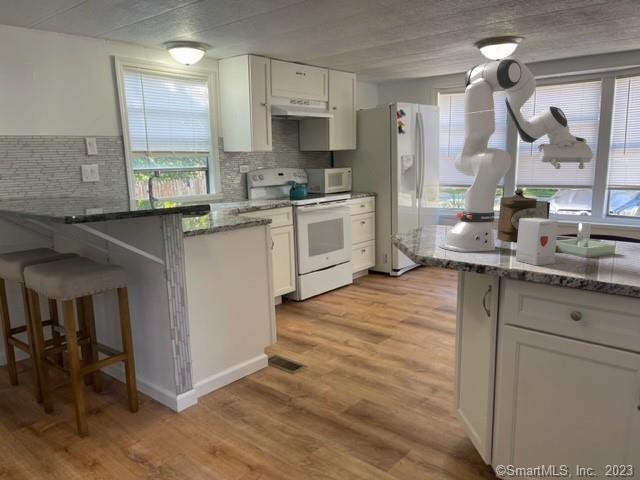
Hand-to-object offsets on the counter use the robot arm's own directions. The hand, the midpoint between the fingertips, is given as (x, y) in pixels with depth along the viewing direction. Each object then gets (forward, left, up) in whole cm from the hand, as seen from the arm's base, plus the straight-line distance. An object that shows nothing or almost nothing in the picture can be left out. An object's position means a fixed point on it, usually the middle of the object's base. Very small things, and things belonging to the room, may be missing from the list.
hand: (570, 168), depth 192 cm
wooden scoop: (-23, -11, -31) cm, 40 cm away
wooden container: (-12, +15, -32) cm, 37 cm away
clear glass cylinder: (-11, -16, -30) cm, 36 cm away
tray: (-11, -16, -31) cm, 37 cm away
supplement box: (-42, -21, -32) cm, 57 cm away
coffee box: (+4, +17, -32) cm, 36 cm away
